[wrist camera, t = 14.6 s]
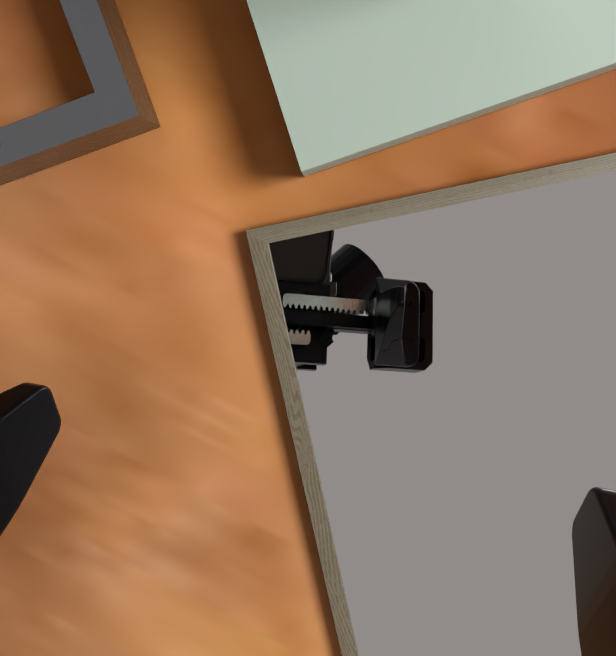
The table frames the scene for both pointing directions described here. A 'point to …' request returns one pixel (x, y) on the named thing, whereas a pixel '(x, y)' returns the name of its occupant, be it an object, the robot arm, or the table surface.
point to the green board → (419, 64)
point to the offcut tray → (84, 99)
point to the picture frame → (451, 403)
